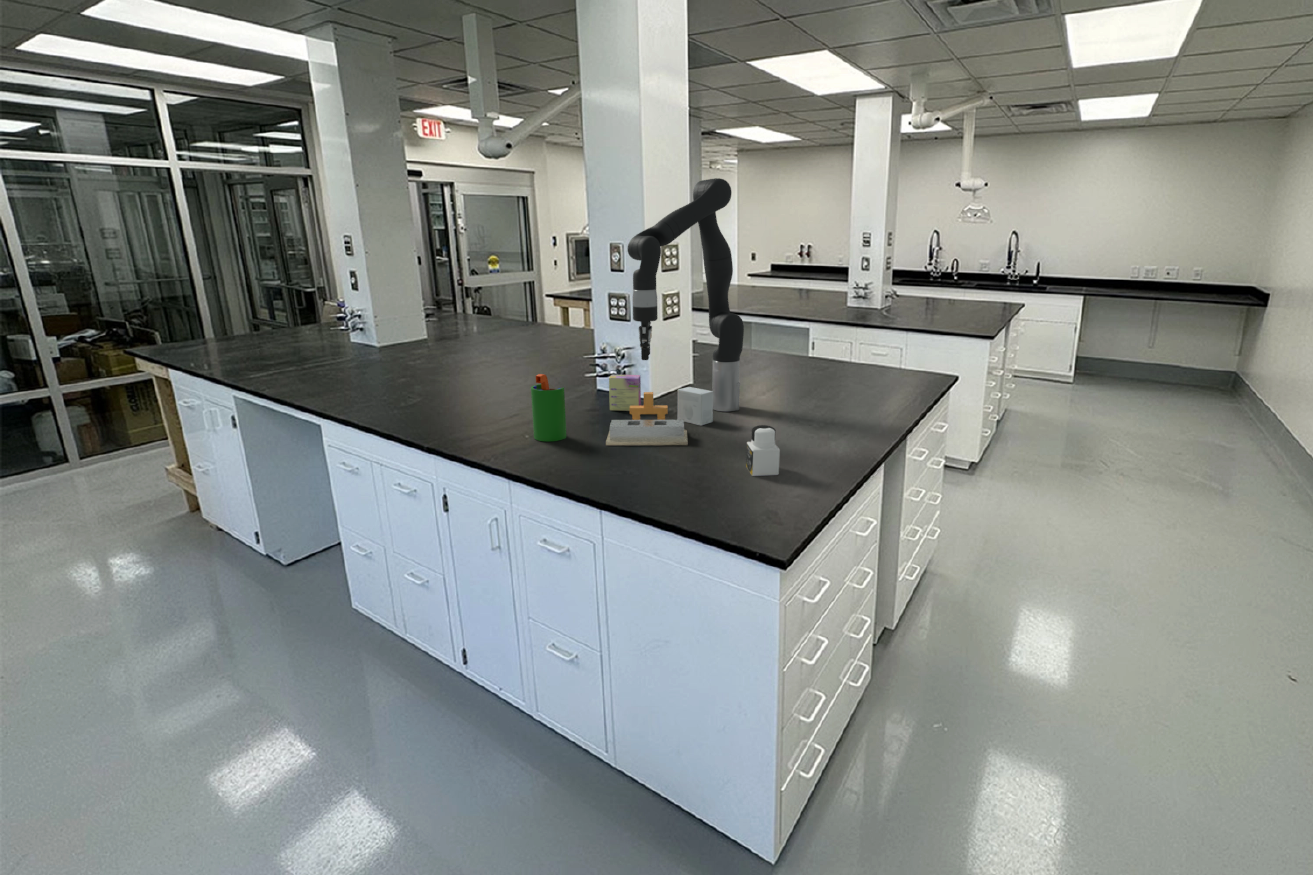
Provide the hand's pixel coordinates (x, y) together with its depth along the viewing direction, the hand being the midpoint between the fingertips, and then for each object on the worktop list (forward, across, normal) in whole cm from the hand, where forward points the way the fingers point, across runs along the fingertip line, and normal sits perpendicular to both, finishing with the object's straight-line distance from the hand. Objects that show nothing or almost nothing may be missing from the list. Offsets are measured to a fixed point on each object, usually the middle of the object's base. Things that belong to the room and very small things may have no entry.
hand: (645, 357), depth 203 cm
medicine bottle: (+22, -40, -32) cm, 56 cm away
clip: (+22, -1, -1) cm, 22 cm away
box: (+22, +20, +9) cm, 31 cm away
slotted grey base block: (+22, -14, -1) cm, 26 cm away
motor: (+22, -12, +29) cm, 39 cm away
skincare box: (+22, +6, -16) cm, 28 cm away
